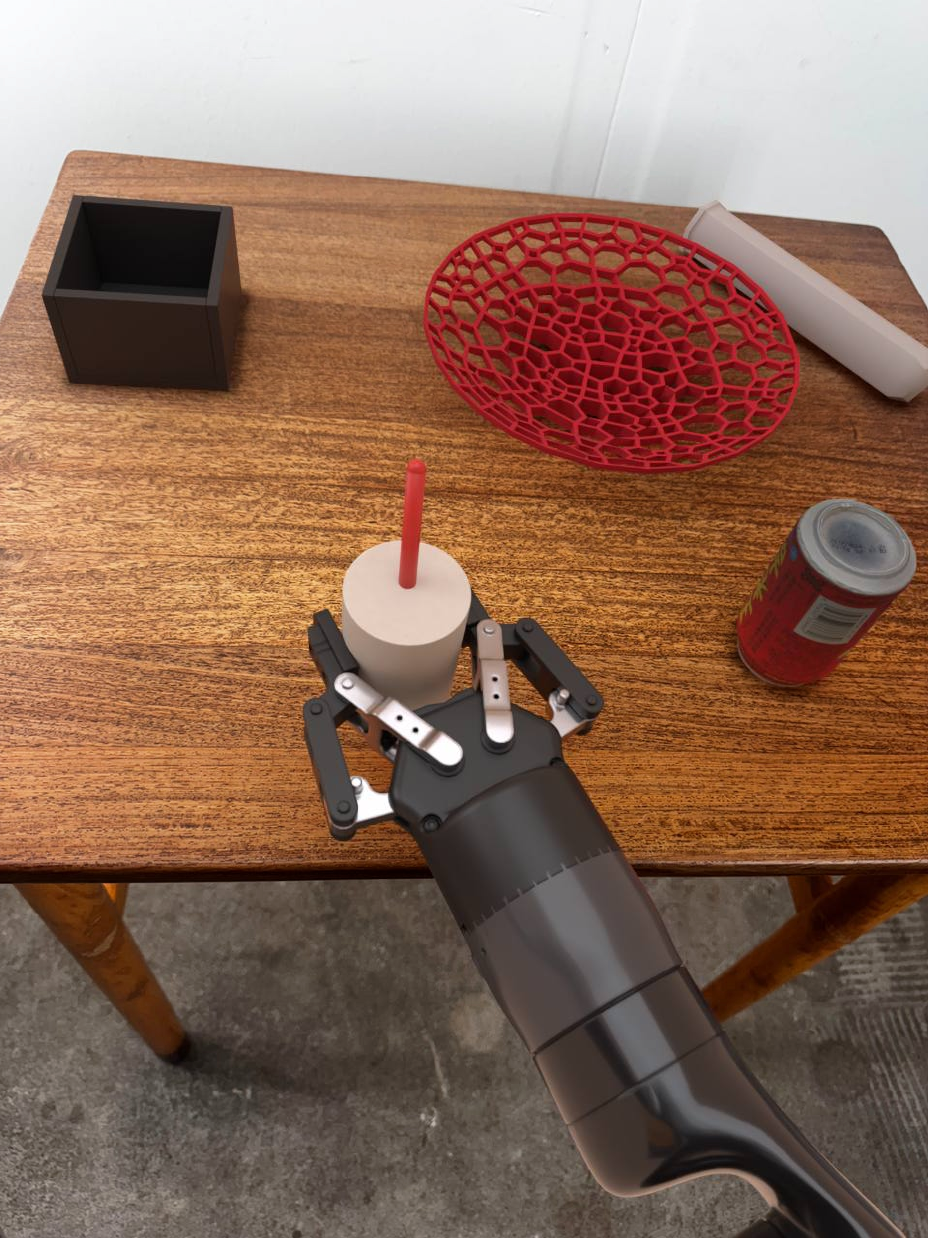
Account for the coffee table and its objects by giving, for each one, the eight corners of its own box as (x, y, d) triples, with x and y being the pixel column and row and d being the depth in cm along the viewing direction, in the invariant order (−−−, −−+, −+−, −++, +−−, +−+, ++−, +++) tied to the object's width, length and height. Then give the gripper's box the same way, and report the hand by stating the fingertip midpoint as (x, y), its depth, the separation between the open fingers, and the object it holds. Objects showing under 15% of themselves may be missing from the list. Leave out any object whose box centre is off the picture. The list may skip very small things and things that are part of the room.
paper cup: (338, 745, 48) (342, 556, 34) (341, 650, 51) (345, 442, 38) (450, 746, 48) (495, 561, 35) (446, 652, 52) (486, 449, 38)
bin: (69, 383, 68) (40, 294, 62) (95, 283, 75) (72, 194, 68) (228, 391, 70) (217, 305, 63) (241, 292, 76) (232, 205, 70)
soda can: (841, 698, 61) (941, 590, 50) (737, 694, 60) (817, 583, 50) (816, 609, 64) (904, 492, 54) (718, 604, 64) (789, 485, 54)
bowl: (788, 546, 67) (817, 501, 63) (390, 478, 67) (394, 428, 63) (763, 295, 84) (786, 246, 80) (444, 239, 83) (450, 186, 79)
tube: (959, 355, 76) (729, 199, 84) (938, 362, 72) (700, 198, 81) (916, 408, 79) (699, 253, 88) (894, 418, 76) (670, 255, 84)
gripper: (716, 802, 38) (516, 507, 45) (399, 963, 33) (232, 602, 40) (662, 862, 44) (493, 595, 51) (388, 1006, 39) (246, 686, 46)
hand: (380, 599), depth 46 cm, fingers closed on paper cup, 5 cm apart
